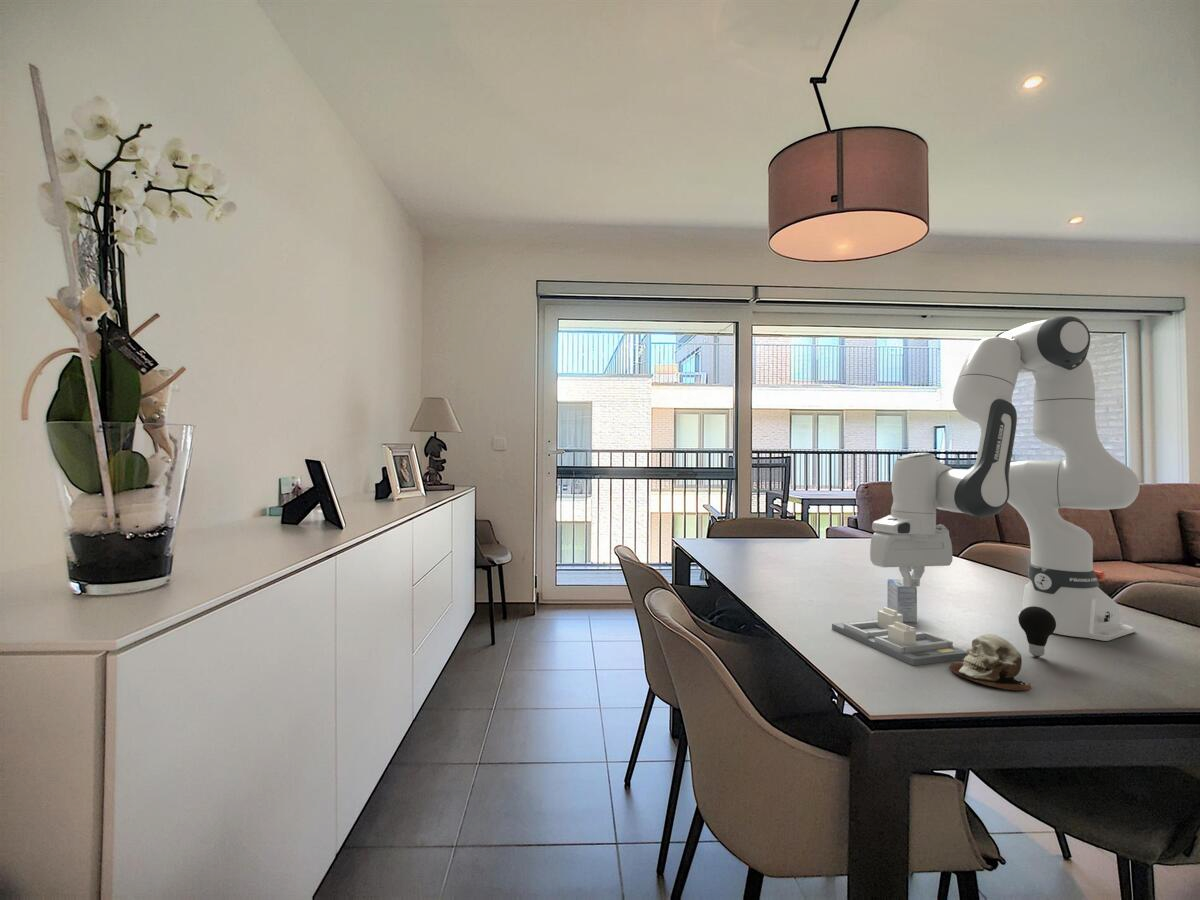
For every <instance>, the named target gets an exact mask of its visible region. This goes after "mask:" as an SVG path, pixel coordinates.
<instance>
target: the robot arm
mask: <svg viewBox="0 0 1200 900" xmlns="http://www.w3.org/2000/svg"><path fill="white" fill-rule="evenodd" d="M1090 344H1091V333H1090V330H1089V328H1088V327H1087V324H1085V323H1084V322H1083V321H1082V320H1081V319H1080V318H1078V317H1076V316H1069V315H1065V316H1064V315H1063V316H1062V315H1061V316H1053V317H1050V318H1048V319H1042V320H1038V321H1033V322H1028V323H1026V324H1023V325H1021V326H1018V327H1014V328H1013V329H1010V330H1008V331H1007V330H1006V331H1002V332H1000V333H997V334H995V335H994V336H991V337H990V336H989V337H984V338H982V339H981V340H979V341H977V342H976V343H975V345H974V346H973V347H972V349H971V351H970V352H969V353H968V355H967V357H966V359H965V360H964V363H963V366H962V367H961V370H960V372H959V376H958V378H957V381H956V383H955V387H954V389H953V395H952V403H953V406H954V408H955V410H956V411H957V412H958V413H959V414H960V415H961V416H962V417H964V418H966V419H968V420H970V421H972V422H975V423H977V424H978V425H979V427H980V437H979V442H978V443H979V444H978V449H977V455H976V459H975V463H974V465H972V466H971V467H970V468H968V469H963V468H961V469H958V468H952V466H948V465H947V464H944V463H942V462H941V461H939V460H938V459H937V458H936V457H935V456H934V454H933V453H929V452H917V453H907V454H902V455H900V456H898V457H897V458H896V459H895V461H894V464H893V468H892V473H891V474H892V475H891V494H892V504H891V509H890V514H888V515H886V516H883V517H881V518H879V519H876V520H873V522H872V524H871V530H872V531H874V533H873V534H872V535H871V538H870V547H869V549H870V551H869V557H870V562H871V564H872V565H874V566H877V567H880V568H898V570H899V572H900V575H901V577H902V578H903V585H904V586H907V587H920V584H921V578H922V576H923V574H924V573H925V570H926V569H925V567H949V566H951V564H952V563H953V546H952V545H953V544H952V539H951V537H950V531H949V529H948V528H947V527H946V526H945V525H944V524H937V510H940V511H948V512H951V513H960V514H966V515H969V516H973V517H978V518H982V519H984V518H991V517H994V516H995V515H997V514H999V513H1000V512H1001V511H1002V510H1003V509H1004V507H1006V505H1007V503H1008V504H1009V505H1010V506H1012V507H1013V508H1014V509H1015V510H1016V511H1017V512H1018V513H1019V515H1020V516H1021V517H1022V518H1023V519H1022V520H1024V522H1025V524H1026V527H1027V528H1028V529H1027V530H1028V534H1029V541H1030V543H1029V544H1030V563H1028V568H1027V573H1028V574H1027V577H1028V579H1029V582H1028V583H1026V584H1025V586H1024V590H1023V600H1022V604H1021V605H1022V606H1021V611H1022V610H1023V609H1025V608H1027V607H1031V606H1036V607H1041V608H1044V609H1046V610H1047V611H1049V612H1050V613H1051V614H1052V615H1053V617H1054V618H1055V621H1056V628H1055V630H1054V632H1053V633H1052V634H1057V635H1061V636H1067V637H1068V636H1069V637H1076V638H1084V639H1093V640H1097V641H1105V642H1108V641H1111V640H1115V639H1118V638H1121V637H1124V636H1127V635H1129V634H1133V633H1135V628H1134V627H1133V626H1131V625H1128V624H1126V623H1123V622H1121V619H1120V618H1121V617H1120V615H1121V614H1120V607H1119V604H1118V603H1117V602H1116V601H1115V600H1113V598H1111V597H1110V596H1109V595H1108V594H1107V593H1105V592H1104V591H1103V590H1102V589H1101V588H1100V587H1099V586H1100V584H1099V581H1098V580H1100V581H1105V580H1106V578H1107V575H1106V572H1105V571H1103V570H1101V571H1100V570H1095V569H1094V570H1093V568H1094V566H1093V564H1094V563H1093V561H1094V559H1093V558H1094V556H1093V555H1094V540H1093V538H1092V536H1091V535H1090V533H1089V532H1087V530H1085V529H1083V528H1082V527H1080V526H1078V525H1076V524H1074V523H1072V522H1070V521H1067V520H1065V519H1064V518H1062V516H1061V515H1060V513H1059V509H1065V508H1066V509H1074V510H1075V509H1078V510H1079V509H1080V510H1091V511H1092V510H1093V511H1094V510H1095V511H1100V510H1101V511H1102V510H1104V511H1107V510H1117V509H1126V508H1127V507H1129V506H1131V505H1132V504H1133V503H1134V502H1135V500H1136V499H1137V498H1138V495H1139V493H1140V479H1138V476H1137V475H1136V473H1135V472H1134V470H1133V469H1132V468H1130V467H1129V466H1128V465H1126V464H1124V463H1122V462H1120V461H1119V460H1117V459H1116V458H1115V457H1113V455H1111V454H1110V453H1109V451H1107V450H1106V448H1105V447H1104V445H1103V443H1102V442H1101V439H1100V438H1099V436H1098V432H1097V431H1098V430H1097V424H1096V423H1097V422H1096V388H1095V380H1094V373H1093V369H1092V366H1091V362H1090V361H1089V359H1087V355H1088V352H1089V350H1090V346H1091V345H1090ZM1021 373H1023V374H1024V373H1032V375H1033V377H1034V380H1035V384H1034V391H1033V408H1032V409H1033V413H1032V414H1033V416H1032V417H1033V420H1032V423H1033V424H1032V431H1033V434H1034V435H1035V437H1036V438H1037V439H1038V440H1040V441H1042V442H1044V443H1046V444H1048V445H1050V446H1053V447H1056V448H1058V449H1060V450H1062V451H1063V452H1064V454H1065V456H1066V457H1065V458H1066V459H1064V460H1042V459H1041V460H1039V459H1038V460H1035V459H1034V460H1033V459H1032V460H1028V459H1027V460H1020V461H1013V462H1012V457H1013V456H1012V455H1013V450H1014V445H1015V437H1016V432H1017V425H1018V424H1017V422H1018V421H1017V420H1018V414H1017V413H1018V412H1017V409H1016V408H1015V406H1014V405H1013V402H1012V401H1013V395H1014V394H1013V393H1014V391H1015V387H1016V385H1017V381H1018V377H1019V374H1021ZM912 570H913V572H912ZM910 572H912V575H911V573H910ZM1021 611H1018V612H1017V618H1019V614H1020V612H1021Z"/></svg>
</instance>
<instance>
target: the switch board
mask: <svg viewBox="0 0 1200 900" xmlns="http://www.w3.org/2000/svg"><path fill="white" fill-rule="evenodd" d="M904 624H905V625H908V624H906V623H904ZM908 626H910V625H908ZM910 628H911V629H914V630H916V627H915V626H910ZM831 629H832V630H833V631H834V632H835V631H836V632H837V633H840V634H842V635H844V636H847V637H849V638H850V639H853V640H855V641H857V642H860V643H862V644H865V645H866V646H869V647H871V648H872V649H875V650H877V651H880V652H881V653H884V654H886V655H888V656H890V657H893V658H895V659H897V660H899V661H902V662H903V661H904V663H906V664H909V665H910V666H912V667H913V666H922V665H929V664H937V663H943V662H950V661H951V662H952V661H960V660H964V658H965V657H966V656H968V655H967V653H966V652H967V650H964V649H962V648H959V647H956V646H954V645H953V644H954V642H953V641H951V640H948V639H946V638H943V637H940V636H938V635H935V634H932V633H930V632H927V631H918V632H917V631H916V644H912V645H903V646H899V645H897V644H894V643H892V642H890V641H888V629H883V628H880V627H878V618H877V619H868V620H867V619H866V620H858V621H857V620H856V621H848V622H845V621H844V622H837V623H836V622H835V623H831Z"/></svg>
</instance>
